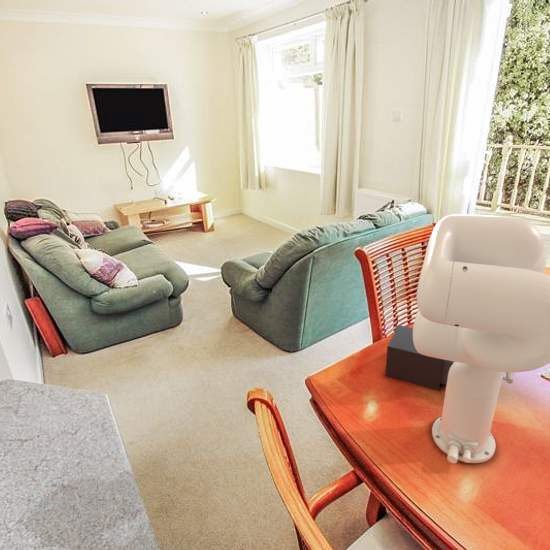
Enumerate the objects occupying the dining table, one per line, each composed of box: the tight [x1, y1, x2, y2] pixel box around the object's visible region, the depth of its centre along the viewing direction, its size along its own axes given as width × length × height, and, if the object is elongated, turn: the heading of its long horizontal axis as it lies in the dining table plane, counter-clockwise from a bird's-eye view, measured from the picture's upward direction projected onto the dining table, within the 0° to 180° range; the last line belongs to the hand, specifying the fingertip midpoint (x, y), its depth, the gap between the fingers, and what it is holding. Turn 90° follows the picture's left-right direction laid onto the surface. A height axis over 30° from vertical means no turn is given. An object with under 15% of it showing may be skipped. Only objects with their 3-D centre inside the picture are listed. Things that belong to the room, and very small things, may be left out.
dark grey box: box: [385, 324, 443, 391], centre depth 103 cm, size 14×12×10 cm
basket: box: [440, 359, 514, 386], centre depth 97 cm, size 18×11×8 cm, turn 59°
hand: (470, 346), depth 94 cm, fingers closed on onion, 5 cm apart
